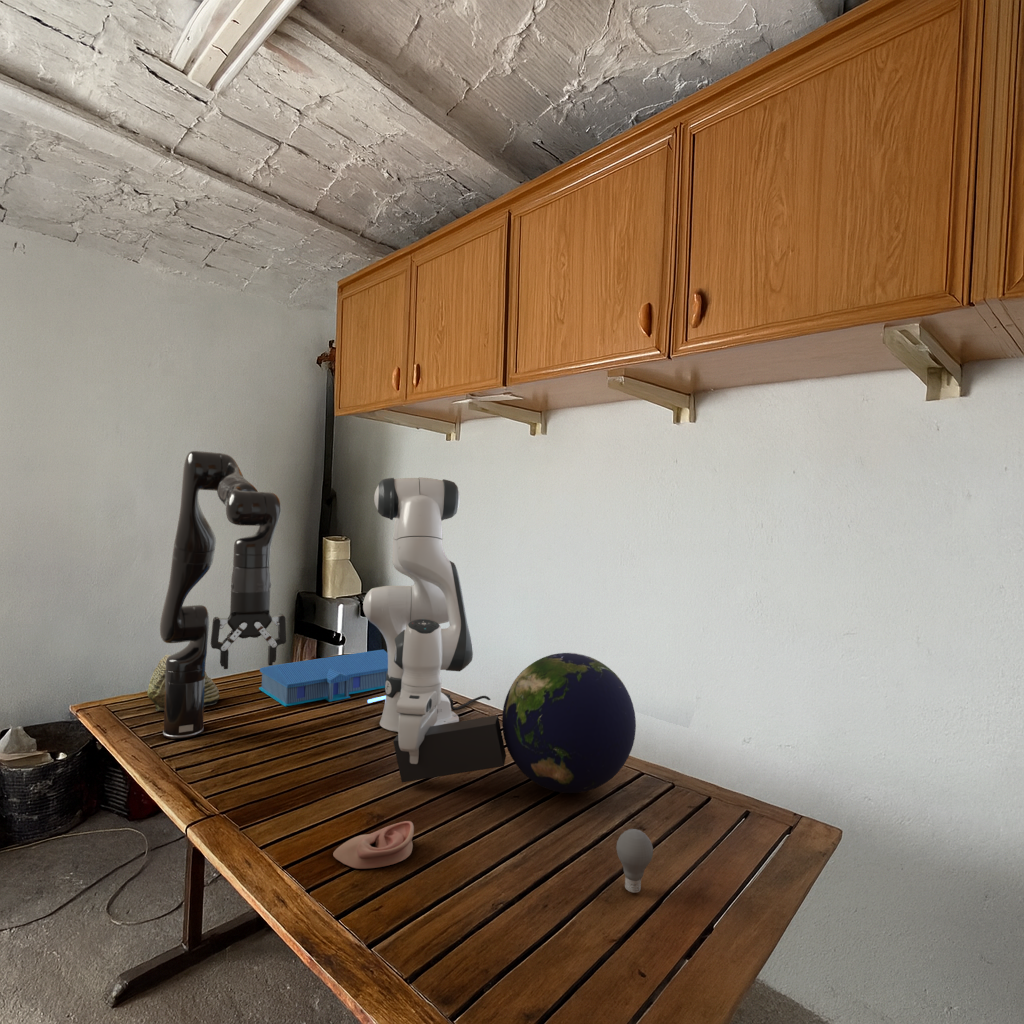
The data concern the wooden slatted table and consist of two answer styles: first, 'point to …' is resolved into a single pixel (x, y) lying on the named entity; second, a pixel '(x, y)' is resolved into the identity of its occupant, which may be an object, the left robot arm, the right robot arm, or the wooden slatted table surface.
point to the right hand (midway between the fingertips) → (418, 756)
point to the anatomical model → (378, 847)
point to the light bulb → (634, 857)
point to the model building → (325, 677)
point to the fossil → (158, 687)
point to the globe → (569, 723)
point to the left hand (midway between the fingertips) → (248, 666)
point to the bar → (455, 749)
